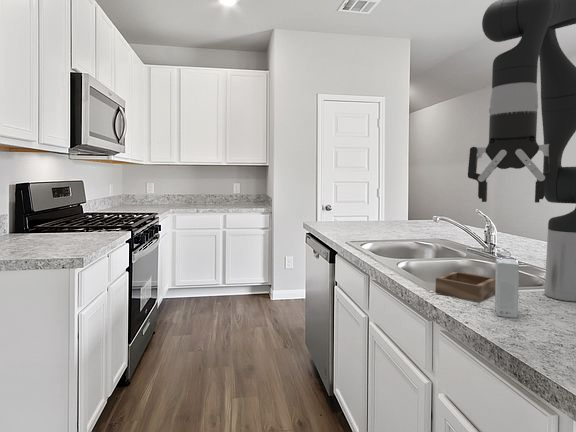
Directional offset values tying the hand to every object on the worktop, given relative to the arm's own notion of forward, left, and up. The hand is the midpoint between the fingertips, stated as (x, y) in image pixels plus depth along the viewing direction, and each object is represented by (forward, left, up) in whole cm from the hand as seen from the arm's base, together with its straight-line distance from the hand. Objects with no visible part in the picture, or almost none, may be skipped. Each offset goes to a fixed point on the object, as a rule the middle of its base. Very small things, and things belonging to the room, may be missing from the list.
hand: (509, 201), depth 74 cm
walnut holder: (-25, -18, -27) cm, 41 cm away
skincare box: (-16, -5, -27) cm, 32 cm away
